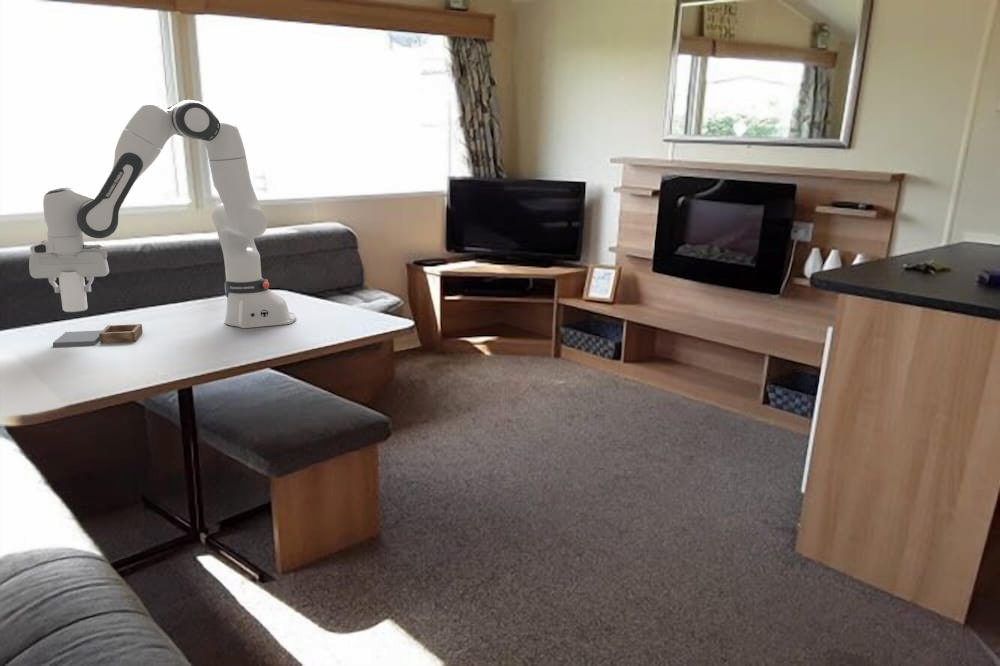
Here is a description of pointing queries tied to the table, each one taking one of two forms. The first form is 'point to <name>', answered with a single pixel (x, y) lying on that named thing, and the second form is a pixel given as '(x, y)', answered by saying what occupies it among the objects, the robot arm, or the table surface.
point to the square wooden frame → (121, 333)
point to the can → (72, 292)
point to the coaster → (77, 338)
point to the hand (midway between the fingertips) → (73, 292)
